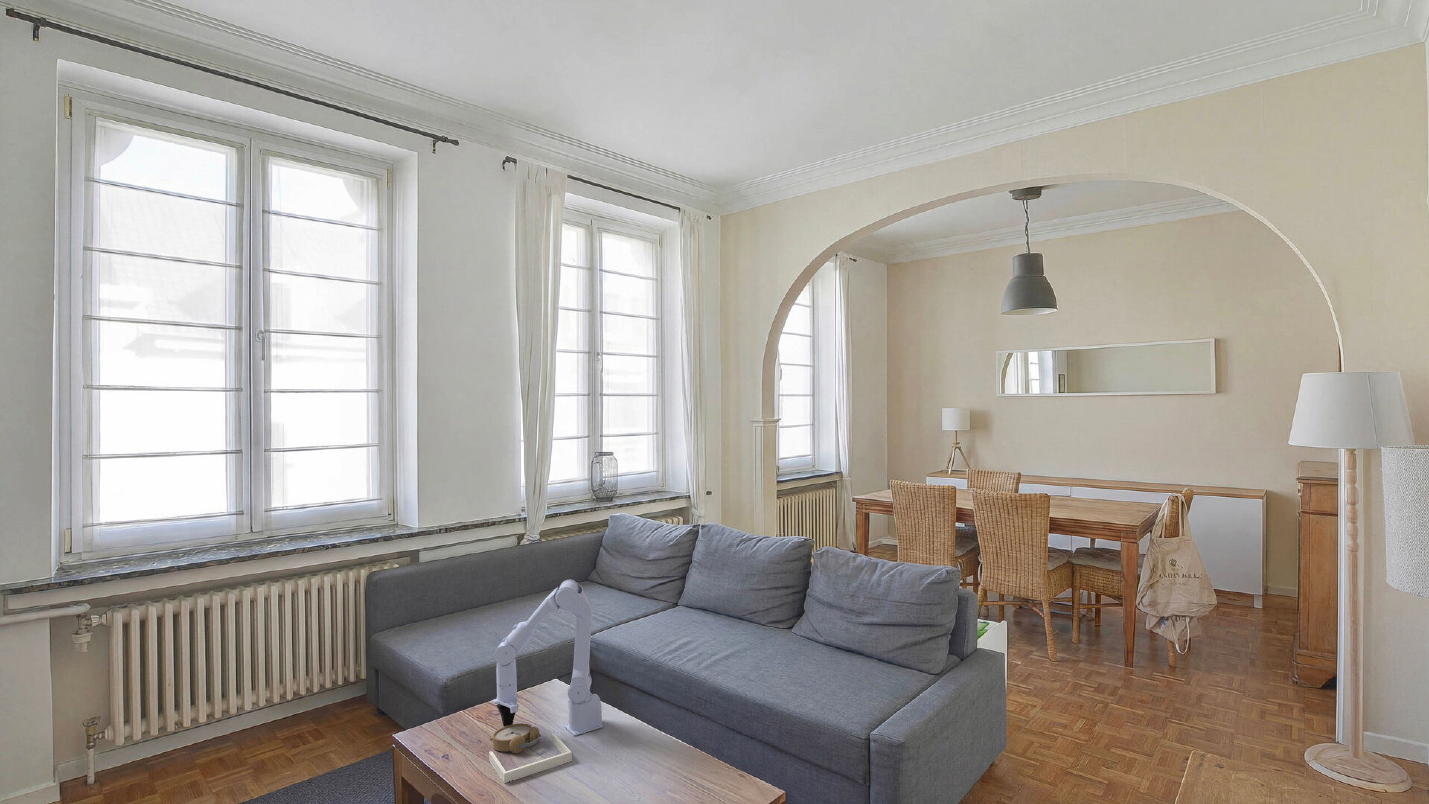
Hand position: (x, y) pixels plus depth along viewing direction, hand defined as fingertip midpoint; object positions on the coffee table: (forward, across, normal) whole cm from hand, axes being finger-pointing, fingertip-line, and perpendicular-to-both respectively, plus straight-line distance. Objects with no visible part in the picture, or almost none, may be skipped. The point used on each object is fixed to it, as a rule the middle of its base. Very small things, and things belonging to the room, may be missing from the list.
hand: (508, 728), depth 208 cm
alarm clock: (+2, +9, 0) cm, 9 cm away
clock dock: (+1, +20, 0) cm, 20 cm away
